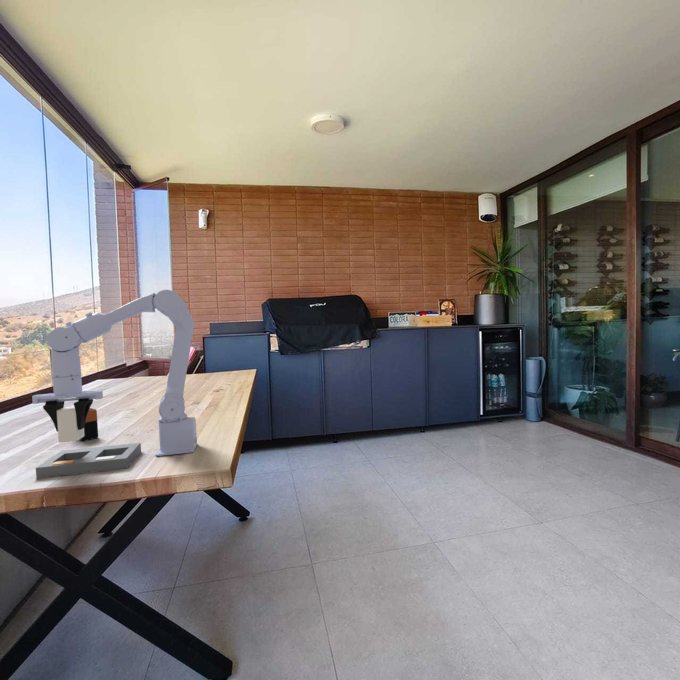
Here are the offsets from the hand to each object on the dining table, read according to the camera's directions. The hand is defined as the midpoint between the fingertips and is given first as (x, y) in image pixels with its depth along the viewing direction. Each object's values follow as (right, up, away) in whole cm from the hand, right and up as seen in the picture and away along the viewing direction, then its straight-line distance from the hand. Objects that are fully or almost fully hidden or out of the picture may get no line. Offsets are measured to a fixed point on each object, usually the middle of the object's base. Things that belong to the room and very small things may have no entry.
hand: (70, 429), depth 91 cm
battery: (-13, -9, +24) cm, 29 cm away
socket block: (+5, -9, +2) cm, 10 cm away
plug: (0, -3, 0) cm, 3 cm away
